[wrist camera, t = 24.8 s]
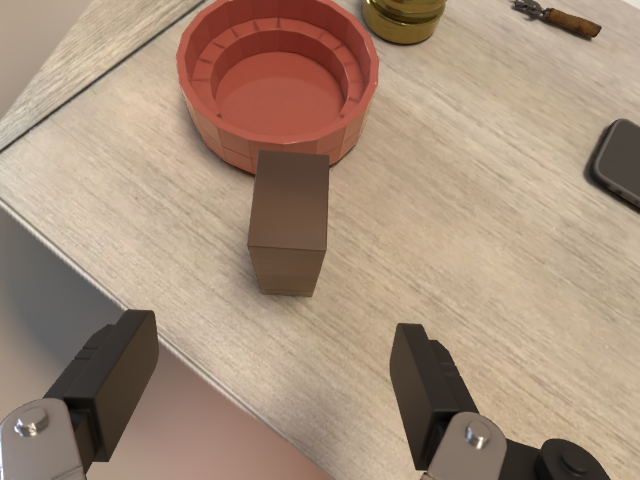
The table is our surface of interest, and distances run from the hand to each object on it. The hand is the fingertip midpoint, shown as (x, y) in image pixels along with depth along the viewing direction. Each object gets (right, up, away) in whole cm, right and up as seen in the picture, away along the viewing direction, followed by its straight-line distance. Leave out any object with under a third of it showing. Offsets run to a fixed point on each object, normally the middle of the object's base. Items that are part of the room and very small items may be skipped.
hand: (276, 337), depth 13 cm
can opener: (+25, +25, +25) cm, 43 cm away
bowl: (-2, +14, +19) cm, 24 cm away
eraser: (-1, +2, +14) cm, 14 cm away
